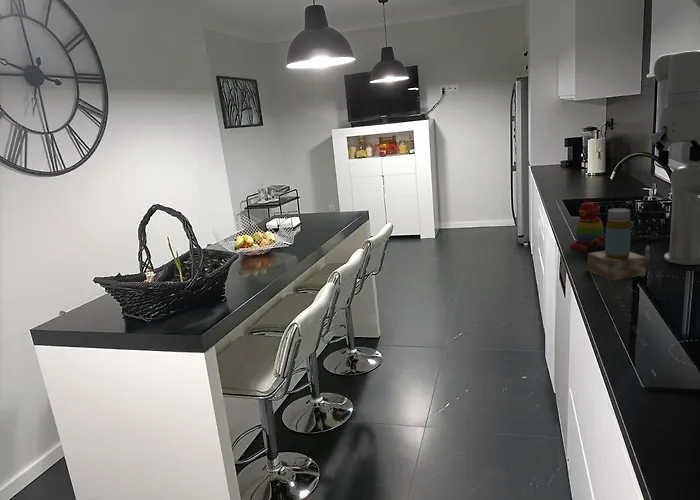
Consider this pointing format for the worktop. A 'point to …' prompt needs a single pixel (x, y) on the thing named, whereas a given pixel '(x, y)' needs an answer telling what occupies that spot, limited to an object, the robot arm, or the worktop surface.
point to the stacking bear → (587, 226)
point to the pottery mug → (599, 247)
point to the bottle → (618, 233)
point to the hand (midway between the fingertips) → (678, 162)
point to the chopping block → (616, 266)
